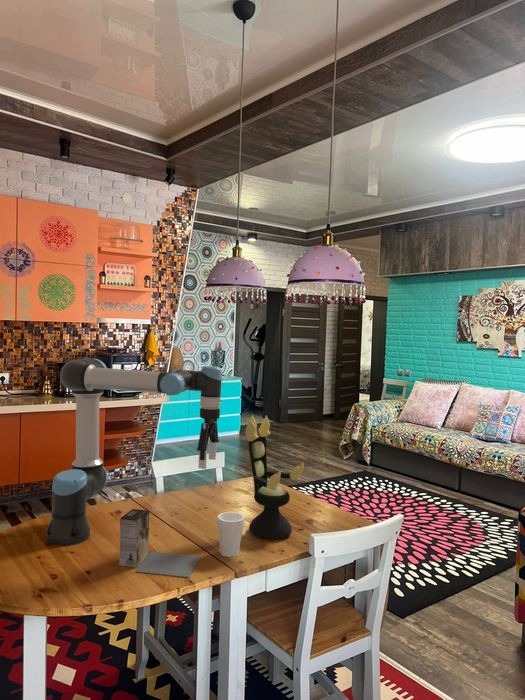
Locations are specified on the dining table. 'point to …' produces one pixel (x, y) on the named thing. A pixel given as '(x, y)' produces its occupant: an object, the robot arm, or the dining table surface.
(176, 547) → the dining table surface
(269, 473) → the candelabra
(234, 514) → the foam cup
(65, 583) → the dining table surface
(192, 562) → the mat
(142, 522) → the coffee box
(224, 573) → the dining table surface
